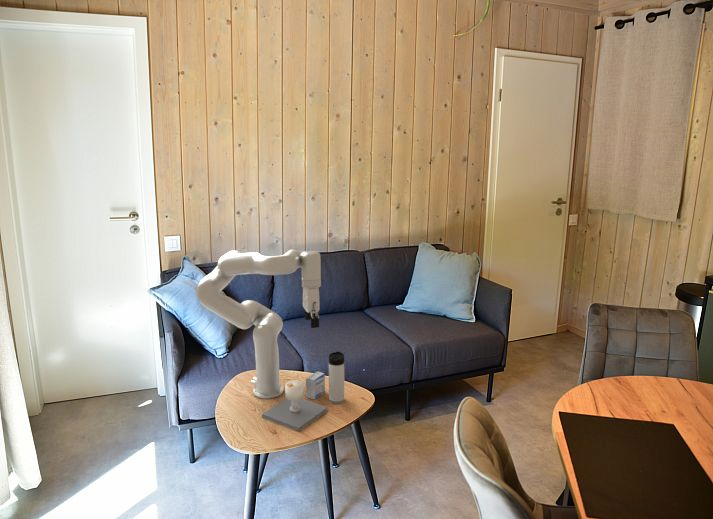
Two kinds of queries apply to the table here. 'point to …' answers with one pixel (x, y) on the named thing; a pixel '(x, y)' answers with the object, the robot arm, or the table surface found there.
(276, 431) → the table surface
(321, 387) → the medicine box
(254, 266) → the robot arm
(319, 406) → the post base
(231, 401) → the table surface
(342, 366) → the travel mug
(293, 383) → the cap
